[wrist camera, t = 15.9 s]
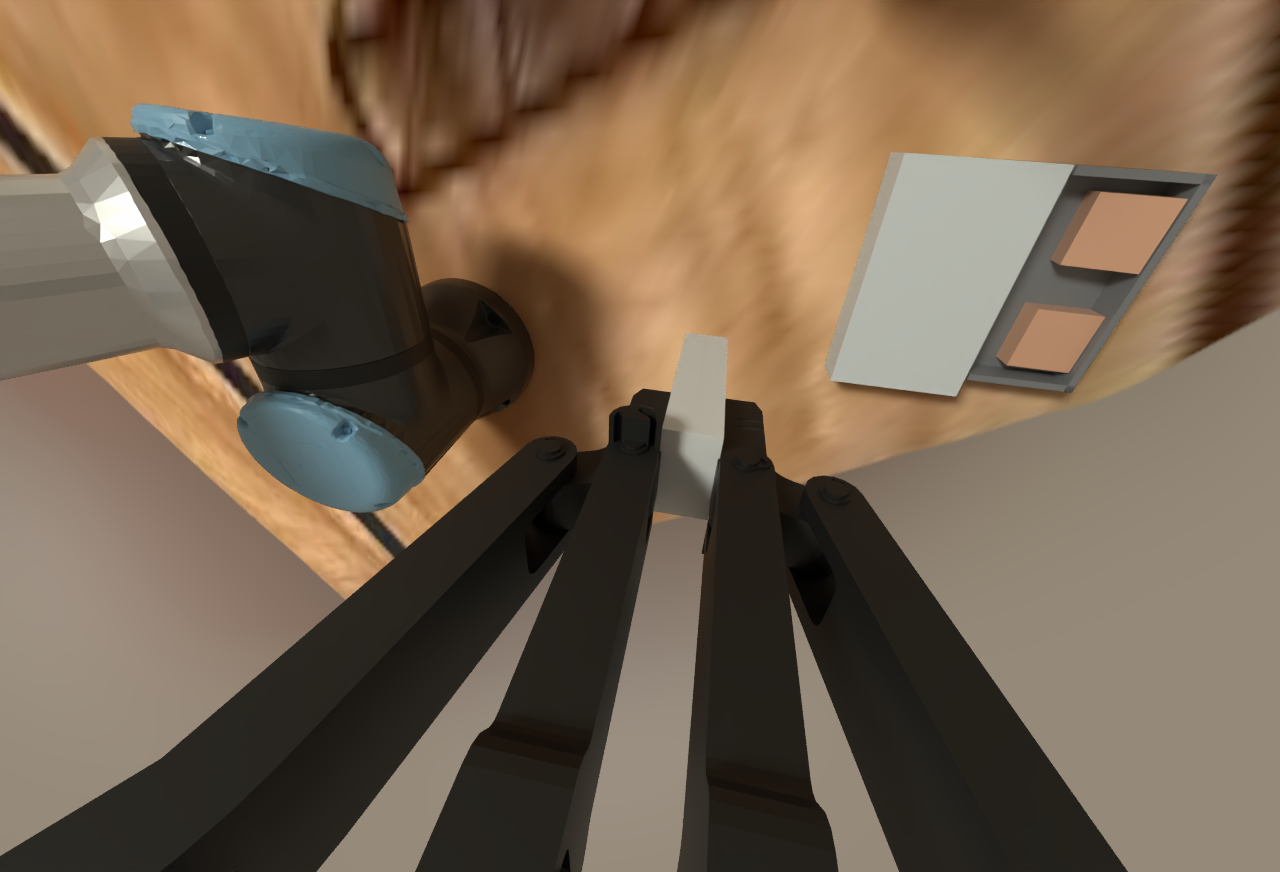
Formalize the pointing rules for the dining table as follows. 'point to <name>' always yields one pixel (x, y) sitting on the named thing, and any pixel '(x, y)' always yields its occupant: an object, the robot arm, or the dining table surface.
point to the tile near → (1116, 230)
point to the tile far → (1049, 337)
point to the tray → (1082, 272)
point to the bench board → (938, 267)
